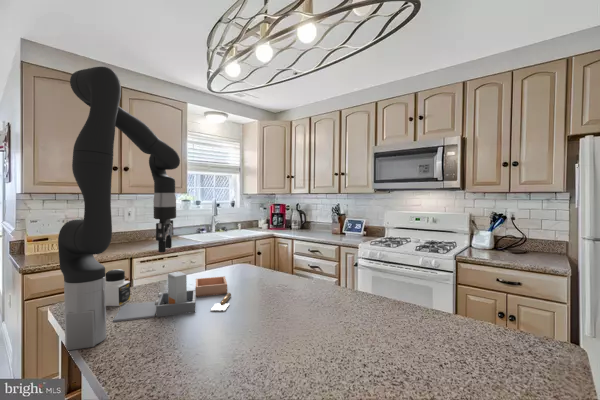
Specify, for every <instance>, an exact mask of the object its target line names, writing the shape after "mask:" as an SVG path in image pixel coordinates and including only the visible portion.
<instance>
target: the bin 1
mask: <svg viewBox="0 0 600 400" xmlns="http://www.w3.org/2000/svg"><path fill="white" fill-rule="evenodd" d="M157 298H159V299H156V300H155V301H147V302H146V301H145V302H136V303H127V304H125V303H124V304H122V305H121V307H120V308H119V311H118V312H117V314H115V316H114V318H113V319H112V323H116V322H124V321H133V320H140V319H141V320H142V319H149V318H155V317H156V318H159V317H167V316H177V315H185V314H193V313H196V301H197V299H196V298H197V297H196V289H190V290H188V289H187V302H185V303H175V304H168V291H167V292H162V291H161V292H159V293H158V294H157ZM165 303H166V304H165Z"/></svg>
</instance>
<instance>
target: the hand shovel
mask: <svg viewBox="0 0 600 400" xmlns="http://www.w3.org/2000/svg"><path fill="white" fill-rule="evenodd" d="M231 297H232V294H231V292H227V294H225V295H224V297H223V299H222V300H221V301H220V303H214V305H213V306H212V308H211V309H210V310H209V311H210V312H213V313H214V312H215V313H221V312H223V313H225V312H226V311H227V310H228V309H229V307H230V304H231V303H227V302H228V300H229V299H230V298H231Z"/></svg>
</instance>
